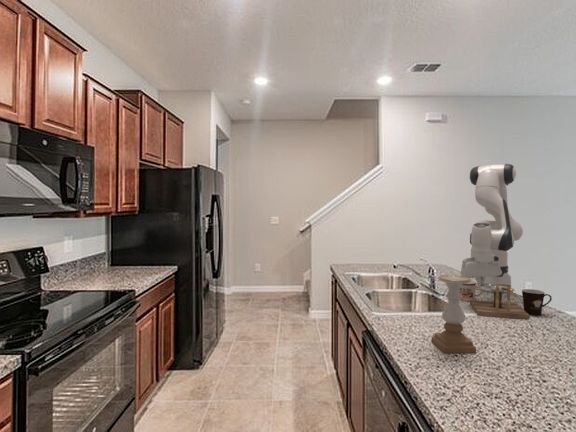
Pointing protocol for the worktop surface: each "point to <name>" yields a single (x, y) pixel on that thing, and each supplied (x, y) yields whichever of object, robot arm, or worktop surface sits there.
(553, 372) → the worktop surface
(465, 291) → the teacup with lid
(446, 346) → the candle holder
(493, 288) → the grey rod with dome
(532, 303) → the coffee mug
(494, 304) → the stand
